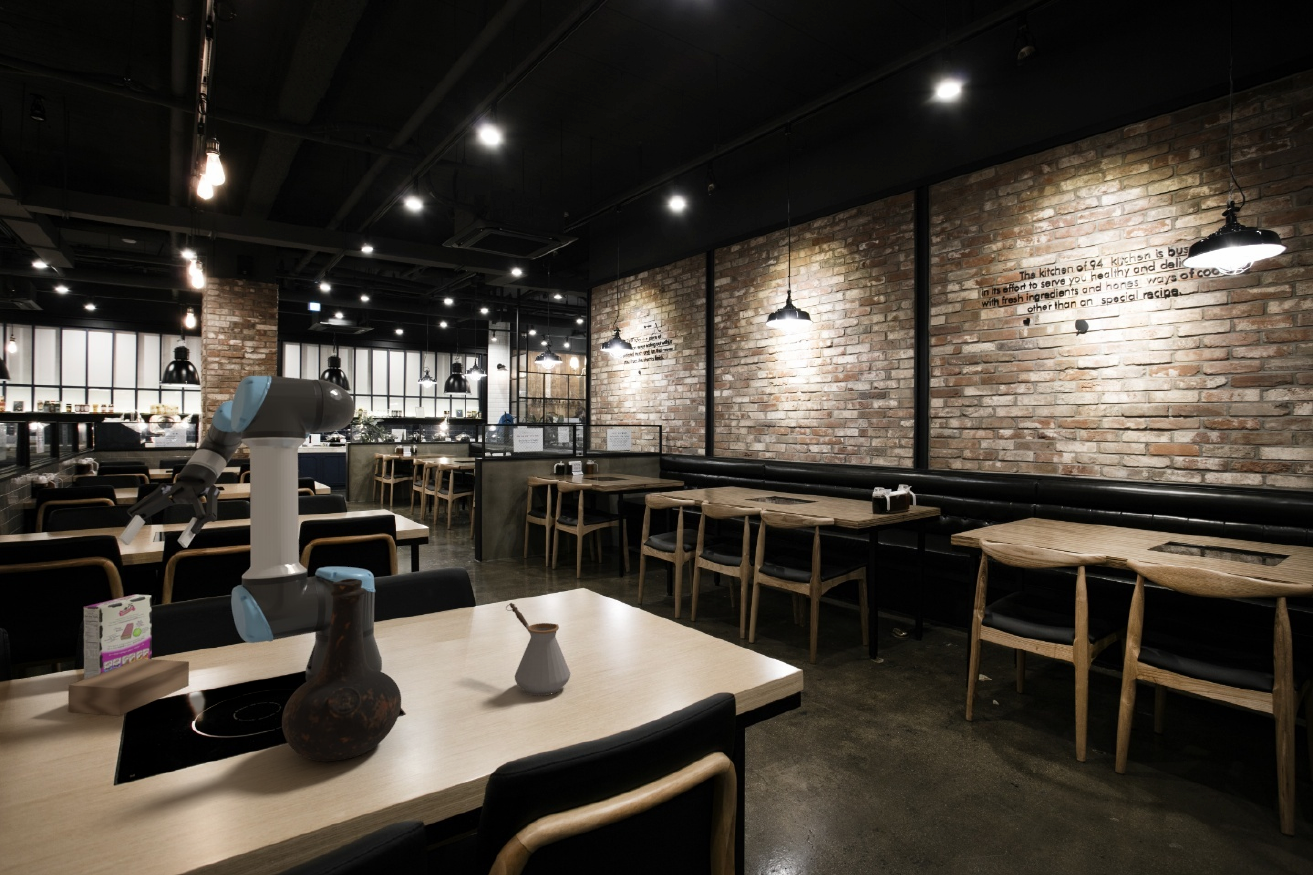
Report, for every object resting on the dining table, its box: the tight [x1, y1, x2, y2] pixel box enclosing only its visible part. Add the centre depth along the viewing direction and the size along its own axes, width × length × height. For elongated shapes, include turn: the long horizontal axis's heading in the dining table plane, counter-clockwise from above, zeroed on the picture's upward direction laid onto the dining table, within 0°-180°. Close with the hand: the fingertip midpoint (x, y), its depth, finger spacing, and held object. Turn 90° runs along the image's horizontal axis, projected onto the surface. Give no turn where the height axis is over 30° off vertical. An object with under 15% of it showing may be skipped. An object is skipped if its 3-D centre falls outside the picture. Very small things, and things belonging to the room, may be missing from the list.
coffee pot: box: [505, 602, 571, 697], centre depth 139 cm, size 21×12×15 cm, turn 39°
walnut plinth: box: [67, 658, 190, 716], centre depth 128 cm, size 11×15×5 cm
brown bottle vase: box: [281, 579, 402, 762], centre depth 108 cm, size 18×18×28 cm
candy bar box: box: [83, 593, 153, 680], centre depth 140 cm, size 11×5×16 cm, turn 168°
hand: (152, 543), depth 147 cm, fingers open, 13 cm apart
